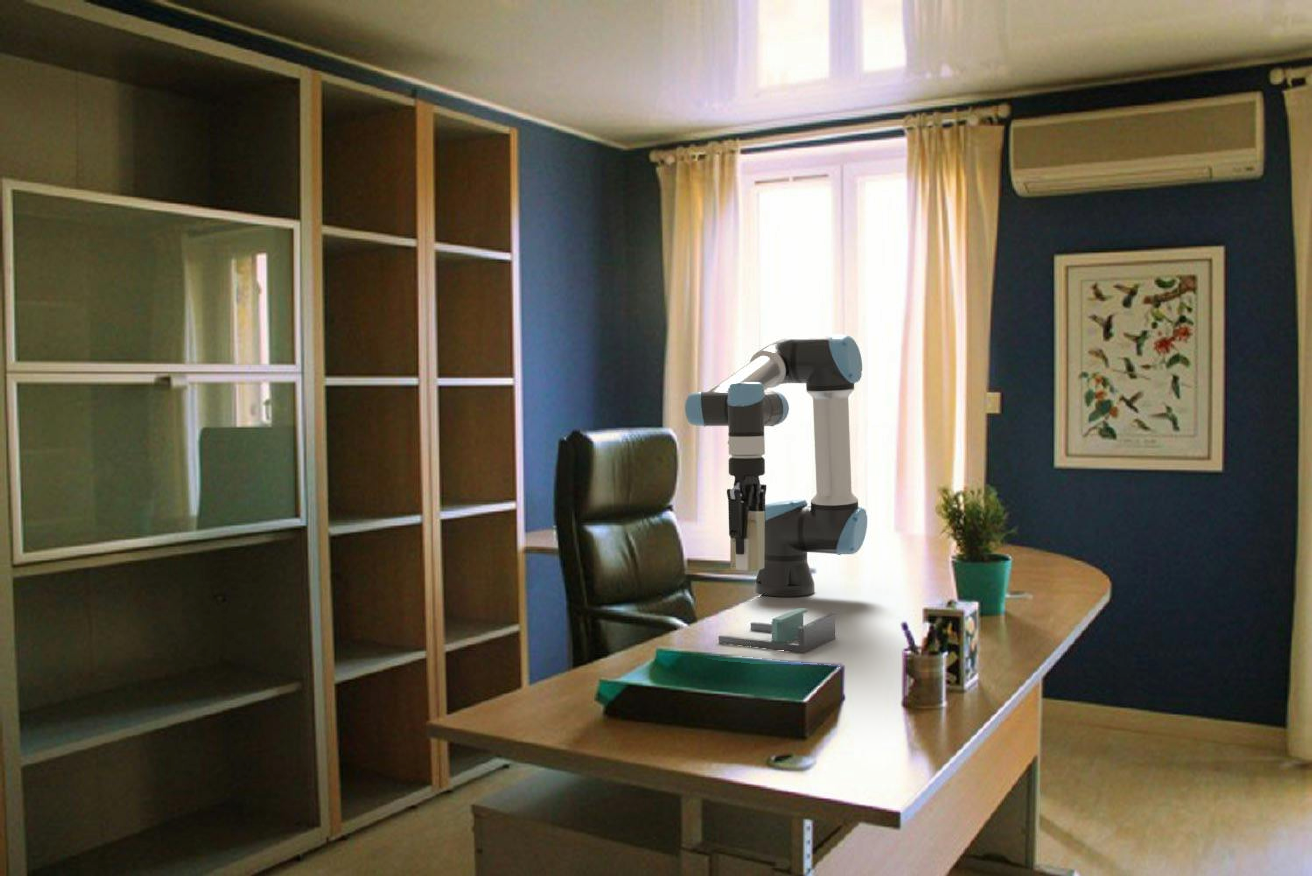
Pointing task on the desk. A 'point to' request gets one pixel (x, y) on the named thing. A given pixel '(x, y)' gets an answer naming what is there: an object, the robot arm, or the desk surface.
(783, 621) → the block
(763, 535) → the skincare box
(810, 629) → the lane
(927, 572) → the desk surface
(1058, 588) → the desk surface
